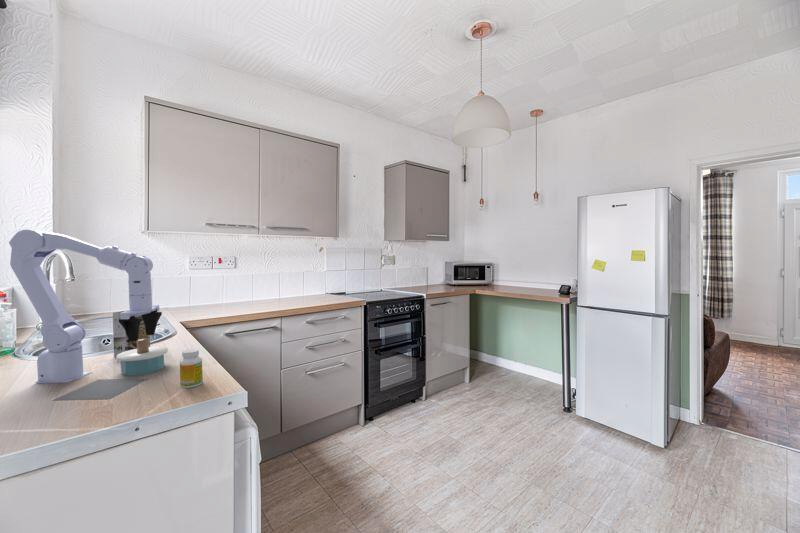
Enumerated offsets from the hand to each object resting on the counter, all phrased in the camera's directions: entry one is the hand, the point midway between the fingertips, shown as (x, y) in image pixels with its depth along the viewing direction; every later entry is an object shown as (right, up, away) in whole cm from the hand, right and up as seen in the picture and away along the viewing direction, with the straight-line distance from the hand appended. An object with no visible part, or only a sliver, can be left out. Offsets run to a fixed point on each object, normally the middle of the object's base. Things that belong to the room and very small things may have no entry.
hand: (142, 337), depth 109 cm
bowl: (0, -10, +1) cm, 10 cm away
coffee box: (-17, -10, +18) cm, 26 cm away
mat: (+1, -11, -15) cm, 19 cm away
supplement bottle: (+23, -11, -12) cm, 28 cm away
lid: (0, -5, 0) cm, 5 cm away
